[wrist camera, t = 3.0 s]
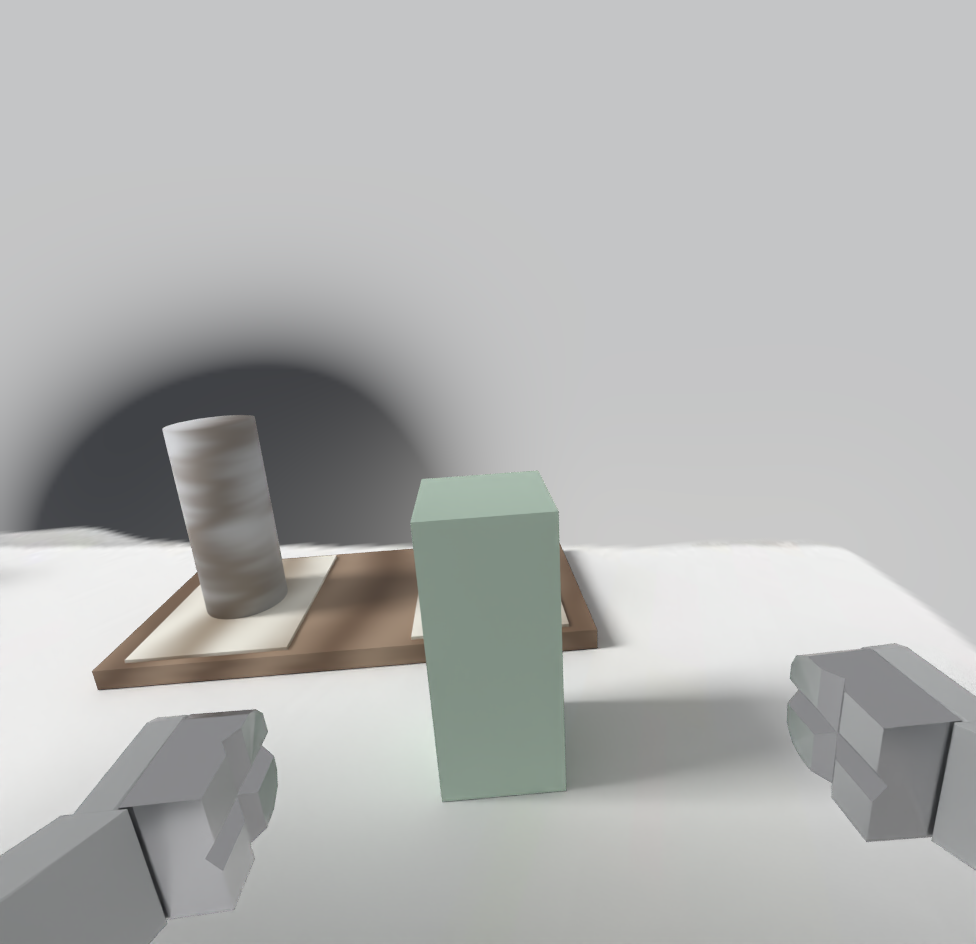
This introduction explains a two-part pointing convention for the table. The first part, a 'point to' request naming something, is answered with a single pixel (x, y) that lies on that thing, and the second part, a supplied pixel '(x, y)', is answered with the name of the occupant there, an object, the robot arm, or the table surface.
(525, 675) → the sage green tall pillar
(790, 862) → the table surface
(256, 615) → the board
